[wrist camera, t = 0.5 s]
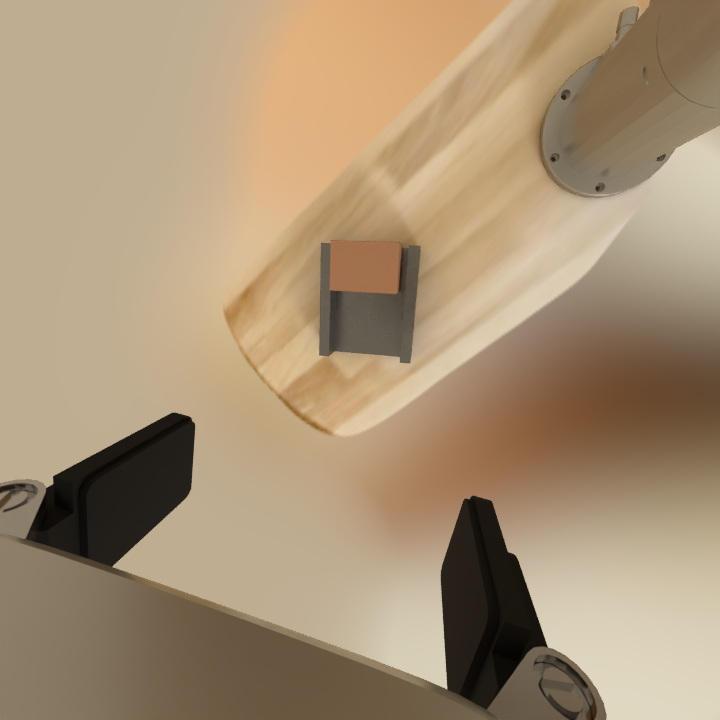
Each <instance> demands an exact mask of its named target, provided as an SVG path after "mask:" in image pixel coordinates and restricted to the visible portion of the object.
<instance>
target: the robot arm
mask: <svg viewBox="0 0 720 720" xmlns="http://www.w3.org/2000/svg"><path fill="white" fill-rule="evenodd" d="M638 12H639V8H638V7H635V6H633V7H629V8H627V9H625V10H623V11H622V12H621V13H620V15H619V20H618V25H617V30H616V33H617V35H616V40H615V41H614V42H613V43H612V44H611V46H610V47H609V48H608V49H607V51H606V52H605V53H604V54H603V55H602V56H599V57H597V58H595V59H593V60H592V61H590V62H588V63H587V64H585V65H583V66H582V67H581V68H580V69H579V70H577V71H576V72H575V73H574V74H573V75H571V76H570V78H569V79H568V80H567V81H566V82H565V83H564V84H563V86H562V87H561V88H560V89H559V91H558V92H557V94H556V95H555V96H554V98H553V100H552V102H551V103H550V105H549V107H548V109H547V111H546V114H545V117H544V120H543V123H542V127H541V134H540V152H541V156H542V161H543V164H544V166H545V168H546V170H547V172H548V174H549V175H550V176H551V178H552V179H553V180H554V182H556V183H557V184H558V185H559V186H560V187H562V188H563V189H564V190H566V191H568V192H570V193H572V194H575V195H579V196H583V197H592V198H600V197H607V196H612V195H615V194H619V193H622V192H624V191H627V190H629V189H631V188H633V187H635V186H637V185H639V184H640V183H642V182H644V181H645V180H647V179H648V178H649V177H651V176H652V175H653V174H654V173H655V172H657V171H658V170H659V169H660V168H661V167H662V166H663V165H664V164H665V163H666V161H667V160H668V159H669V157H670V156H671V154H672V153H673V151H674V150H675V148H677V147H679V146H681V145H683V144H684V143H686V142H688V141H690V140H692V139H694V138H696V137H698V136H700V135H702V134H704V133H706V132H707V131H710V130H711V129H713V128H715V127H717V126H719V125H720V0H650V3H649V6H648V8H647V9H646V10H645V11H644V12H643V14H642V15H641V16H640V17H639V18H638V20H637V17H638ZM561 97H564V100H562V99H561ZM550 158H553V159H554V162H552V161H551V160H550ZM655 158H657V160H656V159H655ZM595 187H598V191H596V189H595ZM194 435H195V423H194V422H192V419H191V417H189V416H186V415H182V414H178V413H171V414H169V415H167V416H165V417H163V418H161V419H160V420H158V421H156V422H154V423H152V424H150V425H149V426H147V427H145V428H143V429H141V430H139V431H137V432H135V433H133V434H132V435H130V436H128V437H126V438H124V439H122V440H120V441H119V442H117V443H115V444H113V445H111V446H109V447H107V448H105V449H103V450H102V451H100V452H98V453H96V454H94V455H92V456H90V457H89V458H87V459H85V460H83V461H81V462H79V463H77V464H75V465H73V466H72V467H70V468H68V469H66V470H64V471H62V472H61V473H59V474H57V475H55V476H53V482H54V484H53V485H51V486H49V487H48V488H46V486H45V485H44V484H43V483H41V482H39V481H37V480H29V479H26V480H14V481H8V482H4V483H0V720H606V712H605V708H604V703H603V701H602V699H601V697H600V695H599V693H598V691H597V689H596V687H595V686H594V685H593V683H592V682H591V681H590V679H589V677H588V676H587V675H586V674H585V673H584V672H583V671H582V670H581V669H580V668H579V667H578V666H577V664H575V663H574V662H573V661H571V660H570V659H569V658H568V657H566V656H565V655H563V654H562V653H560V652H558V651H556V650H554V649H551V648H548V647H547V644H546V641H545V638H544V635H543V632H542V629H541V626H540V623H539V620H538V618H537V614H536V612H535V608H534V606H533V603H532V600H531V597H530V594H529V591H528V588H527V585H526V582H525V579H524V576H523V573H522V570H521V568H520V565H519V561H518V559H517V557H516V556H515V555H514V554H512V553H509V552H508V551H507V548H506V545H505V542H504V538H503V535H502V532H501V529H500V526H499V522H498V519H497V516H496V513H495V510H494V507H493V503H492V501H490V500H487V499H483V498H480V497H476V496H472V497H471V498H470V500H469V499H464V501H463V504H462V507H461V510H460V513H459V516H458V519H457V522H456V525H455V528H454V532H453V534H452V537H451V540H450V543H449V547H448V549H447V552H446V556H445V558H444V562H443V565H442V570H441V590H442V605H443V606H442V607H443V623H444V639H445V656H446V672H447V687H448V688H447V689H448V690H447V689H445V688H442V687H440V686H438V685H435V684H433V683H431V682H429V681H427V680H424V679H422V678H419V677H416V676H414V675H411V674H409V673H406V672H403V671H401V670H398V669H395V668H393V667H390V666H387V665H385V664H382V663H380V662H377V661H375V660H372V659H369V658H366V657H364V656H361V655H359V654H356V653H353V652H350V651H348V650H344V649H342V648H339V647H336V646H334V645H331V644H328V643H325V642H323V641H320V640H317V639H314V638H311V637H308V636H306V635H303V634H300V633H298V632H295V631H292V630H289V629H287V628H284V627H281V626H278V625H276V624H272V623H270V622H267V621H264V620H262V619H258V618H255V617H253V616H250V615H247V614H245V613H242V612H239V611H236V610H233V609H230V608H227V607H225V606H222V605H219V604H216V603H213V602H211V601H208V600H205V599H202V598H199V597H196V596H194V595H191V594H188V593H185V592H182V591H179V590H177V589H174V588H171V587H168V586H165V585H162V584H159V583H157V582H154V581H151V580H148V579H145V578H142V577H139V576H136V575H133V574H131V573H128V572H125V571H122V570H119V569H116V568H113V567H112V566H113V565H114V564H115V563H116V562H117V561H118V560H120V559H121V558H122V557H123V556H124V555H125V554H126V553H127V552H128V551H129V550H130V549H131V548H133V547H134V546H135V545H136V544H137V543H138V542H139V541H140V540H141V539H142V538H143V537H144V536H146V534H148V533H149V532H150V531H151V530H152V529H153V528H154V527H155V526H156V525H157V524H158V523H160V522H161V521H162V520H163V519H164V518H165V517H166V516H167V515H168V514H169V513H170V512H171V511H173V510H174V508H176V507H177V506H178V505H179V504H180V503H181V502H182V501H183V500H184V499H185V498H186V497H187V496H188V494H189V492H190V490H191V483H192V467H193V451H194V437H195V436H194Z"/></svg>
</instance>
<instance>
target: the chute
mask: <svg viewBox="0 0 720 720" xmlns="http://www.w3.org/2000/svg"><path fill="white" fill-rule="evenodd" d="M330 250H331V243H321V288H320V347H319V355H321V356H330V355H331V354H332V353H333V352H335V351H340V352H352V353H363V354H375V355H386V356H398V357H400V363H410V361H411V352H412V341H413V329H414V318H415V306H416V295H417V283H418V272H419V260H420V246H409V248H403V253H402V267H401V280H400V292H398V293H397V294H387V293H369V292H351V291H333V290H330Z"/></svg>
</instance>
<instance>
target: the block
mask: <svg viewBox="0 0 720 720" xmlns="http://www.w3.org/2000/svg"><path fill="white" fill-rule="evenodd" d="M402 253H403V247H402V246H401V244H400V242H369V241H337V240H331V250H330V290H333V291H351V292H369V293H387V294H397V293H398V292H400V280H401V267H402Z"/></svg>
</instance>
